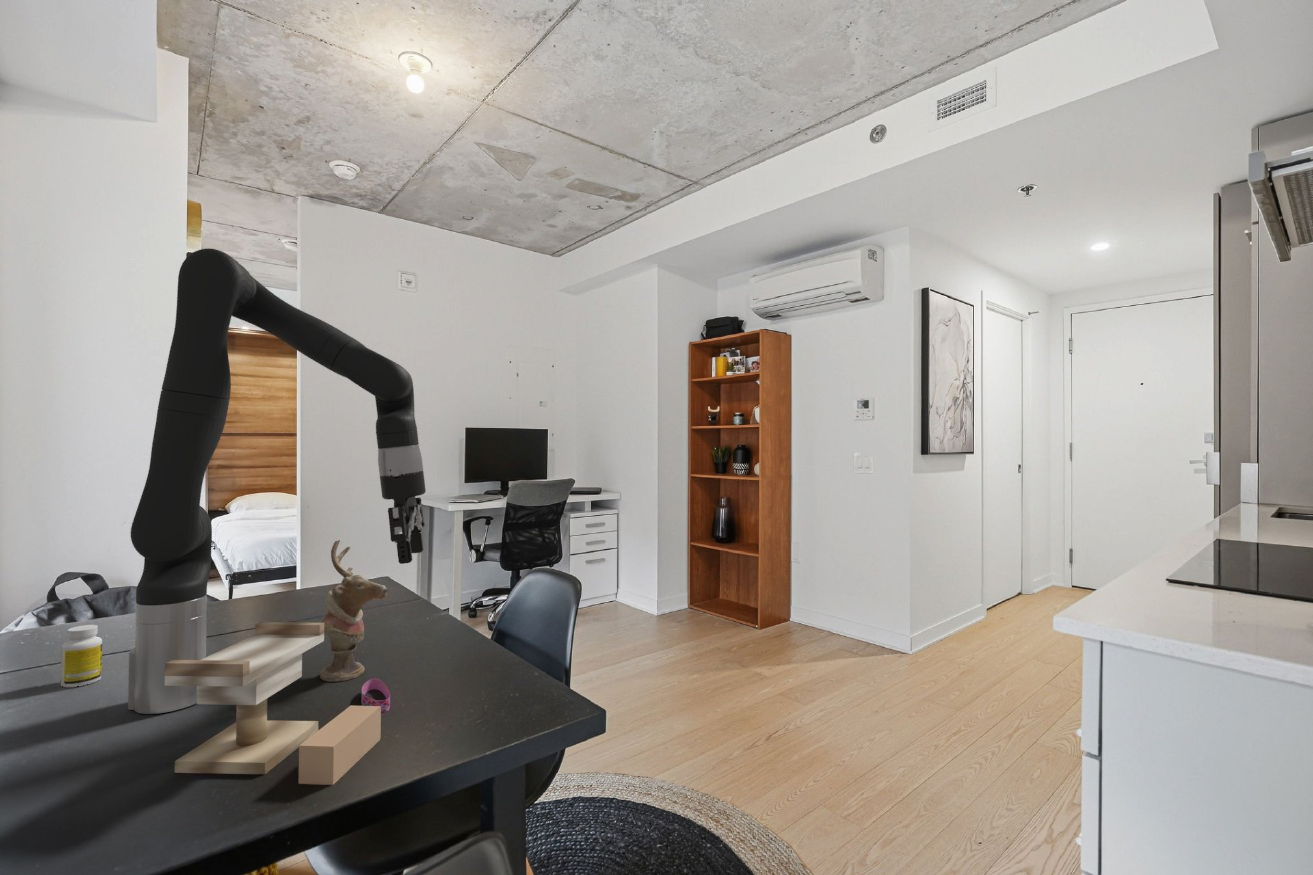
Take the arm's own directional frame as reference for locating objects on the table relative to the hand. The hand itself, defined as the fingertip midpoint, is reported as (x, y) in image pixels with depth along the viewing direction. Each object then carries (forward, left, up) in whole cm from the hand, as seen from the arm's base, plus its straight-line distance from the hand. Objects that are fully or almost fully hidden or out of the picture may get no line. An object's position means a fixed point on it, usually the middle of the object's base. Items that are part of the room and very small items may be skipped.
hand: (411, 557), depth 114 cm
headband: (-1, -11, -22) cm, 25 cm away
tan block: (+4, -30, -22) cm, 38 cm away
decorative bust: (-11, 0, -22) cm, 25 cm away
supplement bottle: (-57, -5, -22) cm, 62 cm away
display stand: (-10, -28, -22) cm, 37 cm away
